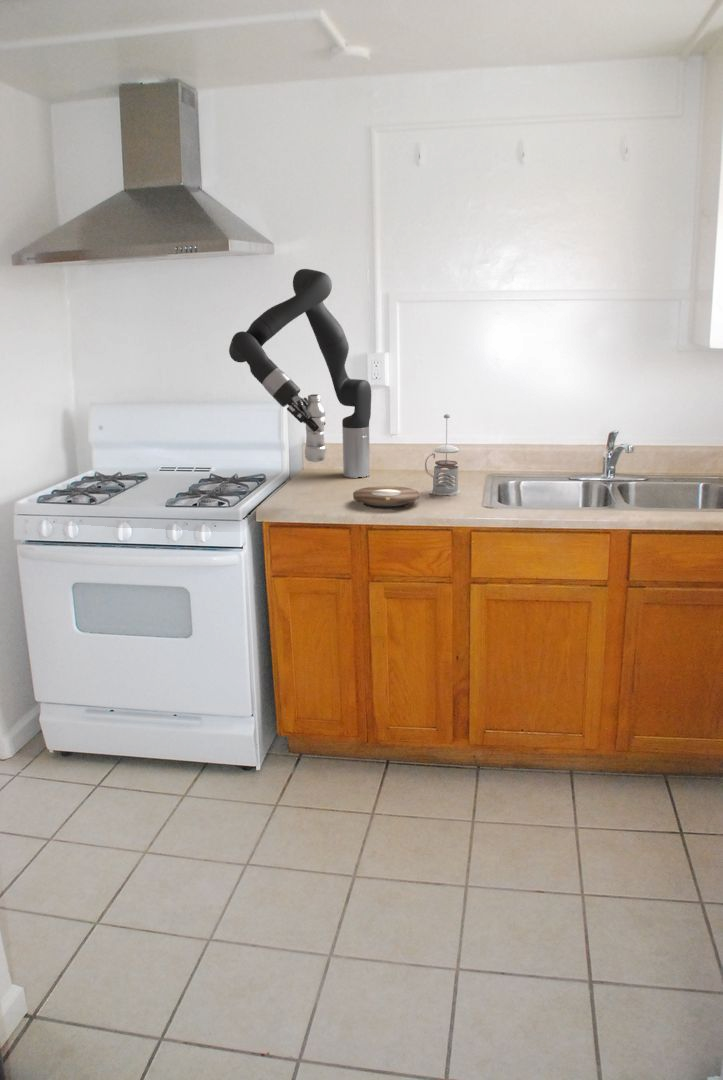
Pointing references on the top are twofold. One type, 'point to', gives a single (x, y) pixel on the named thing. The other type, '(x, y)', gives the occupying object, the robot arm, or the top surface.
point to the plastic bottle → (315, 440)
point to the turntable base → (386, 506)
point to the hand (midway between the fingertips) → (320, 427)
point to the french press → (452, 470)
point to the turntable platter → (386, 495)
